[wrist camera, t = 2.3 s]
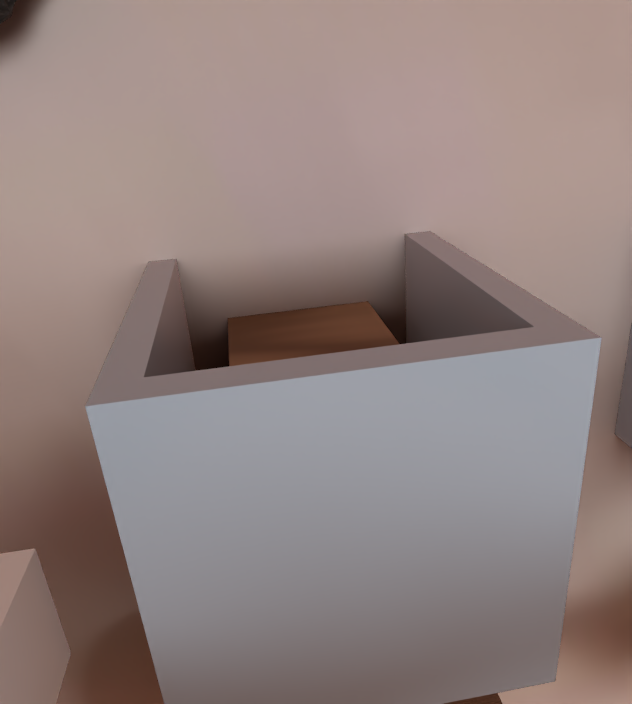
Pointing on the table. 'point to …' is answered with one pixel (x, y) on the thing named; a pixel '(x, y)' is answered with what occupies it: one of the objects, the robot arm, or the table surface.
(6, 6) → the rock
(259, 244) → the table surface
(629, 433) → the cover
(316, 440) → the cover
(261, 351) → the block
